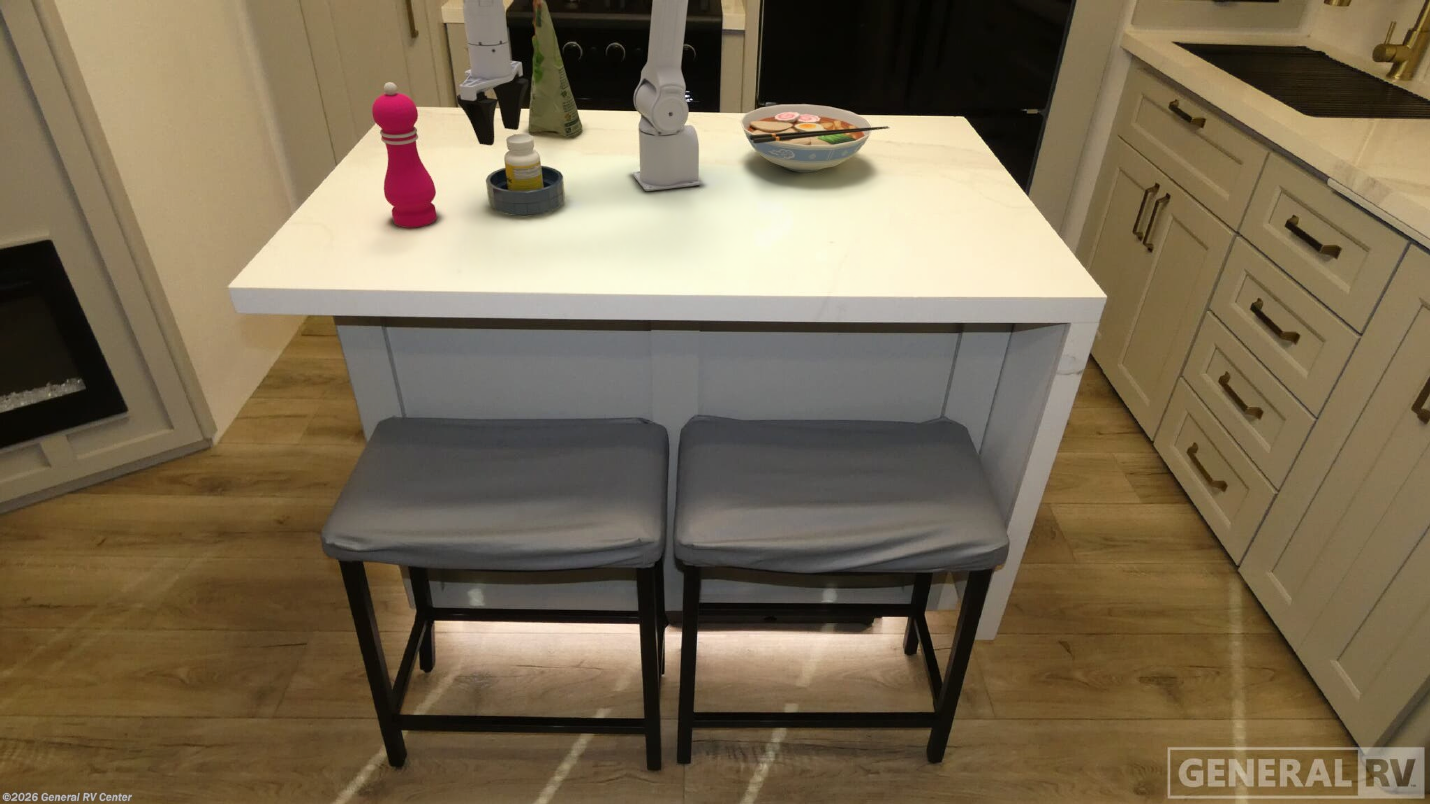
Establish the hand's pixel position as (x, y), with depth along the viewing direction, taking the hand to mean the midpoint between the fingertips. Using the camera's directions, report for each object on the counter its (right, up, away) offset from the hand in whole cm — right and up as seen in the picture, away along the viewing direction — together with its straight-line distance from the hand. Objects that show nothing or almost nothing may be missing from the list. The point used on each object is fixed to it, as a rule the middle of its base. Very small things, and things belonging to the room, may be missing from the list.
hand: (499, 136), depth 130 cm
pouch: (+2, +12, +34) cm, 36 cm away
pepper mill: (-12, -13, -1) cm, 18 cm away
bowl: (+3, -9, +5) cm, 11 cm away
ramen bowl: (+48, +1, +22) cm, 53 cm away
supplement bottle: (+3, -9, +5) cm, 10 cm away
